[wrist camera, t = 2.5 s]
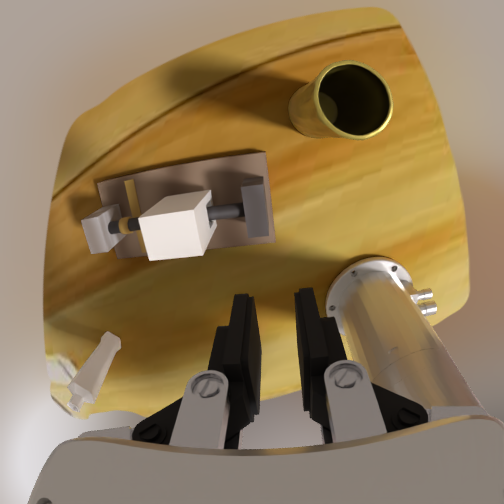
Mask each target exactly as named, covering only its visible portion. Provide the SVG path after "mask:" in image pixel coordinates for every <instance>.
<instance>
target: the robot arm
mask: <svg viewBox="0 0 504 504" xmlns="http://www.w3.org/2000/svg"><path fill="white" fill-rule="evenodd" d="M352 271H353V272H352ZM294 296H295V312H296V330H297V347H298V357H299V366H300V376H301V386H302V397H303V407H304V411H309V412H310V413H309V414H310V418H312V420H314V421H315V422H317V423H319V424H320V425H321V435H322V441H323V445H314V446H306V447H294V448H278V449H249V450H247V449H241V448H242V438H243V428H244V427H246V426H247V425H248V424H250V422H254V415H257V414H259V409H260V382H261V354H262V351H261V341H260V335H259V328H258V321H257V315H256V308H255V302H254V297H249V295H248V294H235V295H234V301H233V306H232V312H231V317H230V323H229V326H218V327H217V330H216V335H215V339H214V343H213V348H212V352H211V357H210V361H209V365H208V370H207V371H202V372H199V373H197V374H196V375H194V376H193V377H192V378H191V379H190V380H189V381H188V383H187V386H186V389H185V392H184V396H183V397H182V398H180V399H179V400H177V401H175V402H174V403H172V404H170V405H169V406H167V407H165V408H164V409H162V410H160V411H158V412H157V413H155V414H153V415H152V416H150V417H148V418H146V419H145V420H143V421H141V422H140V423H139V424H137V425H136V427H135V428H130V426H127V427H120V428H113V429H105V430H97V431H88V432H85V433H83V434H81V435H80V436H79V437H78V438H74V439H70V440H67V441H64V442H63V443H61V444H59V445H58V446H57V447H56V448H55V449H54V450H53V452H52V453H51V455H50V456H49V458H48V459H47V461H46V463H45V465H44V466H43V468H42V470H41V473H40V474H39V477H38V479H37V481H36V483H35V486H34V488H33V490H32V493H31V496H30V498H29V501H28V504H504V423H503V422H502V421H501V420H499V419H497V418H495V417H492V416H490V415H489V414H488V413H487V412H486V410H485V409H484V408H483V406H482V405H481V403H480V402H479V400H478V399H477V398H476V396H475V395H474V393H473V392H472V390H471V389H470V387H469V385H468V384H467V382H466V381H465V379H464V377H463V376H462V374H461V373H460V371H459V369H458V368H457V366H456V364H455V363H454V361H453V359H452V358H451V356H450V354H449V353H448V351H447V350H446V348H445V346H444V345H443V343H442V342H441V340H440V338H439V337H438V335H437V334H436V332H435V331H434V329H433V328H432V326H431V325H430V323H429V322H428V320H427V319H426V317H425V316H428V315H433V314H435V313H436V311H437V306H436V303H435V301H429V302H424V303H422V304H417V302H418V300H425V299H430V298H432V290H431V289H430V288H429V289H423V290H420V291H417V290H416V289H414V288H413V283H412V279H411V277H410V275H409V273H408V272H407V271H406V269H405V268H404V267H403V266H402V265H401V264H400V263H398V262H396V261H395V260H393V259H389V258H386V257H371V258H366V259H363V260H360V261H358V262H356V263H354V264H352V265H350V266H349V267H347V268H346V269H344V270H343V271H342V272H341V273H340V274H339V275H338V276H337V277H336V279H335V280H334V281H333V283H332V284H331V286H330V288H329V290H328V293H327V296H326V303H325V308H326V314H327V317H324V318H320V316H319V312H318V308H317V304H316V299H315V295H314V291H313V288H302V289H299V292H297V293H294ZM340 334H342V335H344V336H346V338H347V342H348V345H349V348H350V351H351V355H352V358H353V361H351V360H347V357H346V353H345V350H344V346H343V343H342V339H341V336H340Z"/></svg>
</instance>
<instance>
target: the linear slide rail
mask: <svg viewBox="0 0 504 504" xmlns="http://www.w3.org/2000/svg"><path fill="white" fill-rule="evenodd" d="M97 185H98V189H99V193H100V197H101V202H102V206H103V207H102V208H100V209H99V210H97V211H95V212H94V213H92V214H90V215H89V216H87V217H85V218H84V219H82V220H81V222H82V225H83V229H84V232H85V236H86V239H87V242H88V245H89V248H90V251H91V254H95V253H103V252H108V251H110V250H111V249H112V248H113V247H114V249H115V252H116V255H117V258H118V259H122V258H131V257H140V256H148V254H147V250H146V247H145V243H144V239H143V235H142V232H141V228H140V224H139V220H138V218H139V217H140V216H141V215H143V214H144V213H145V212H146V211H148V210H149V209H150V208H152V207H153V206H154V205H155V204H157V203H158V202H159V201H161V200H162V199H163V198H165V197H166V196H172V195H178V194H185V193H191V192H198V191H205V190H211V195H212V201H213V206H209V207H206V209H207V214H208V220H209V221H212V220H216V223H217V227H216V229H215V231H214V233H213V235H212V237H211V239H210V241H209V244H208V246H207V248H206V249H216V248H226V247H235V246H245V245H255V244H265V243H275V242H276V240H275V230H274V221H273V212H272V203H271V194H270V186H269V177H268V169H267V161H266V153H265V152H256V153H248V154H240V155H233V156H226V157H219V158H212V159H206V160H200V161H194V162H188V163H183V164H177V165H172V166H167V167H162V168H157V169H152V170H147V171H143V172H138V173H134V174H129V175H125V176H121V177H117V178H113V179H109V180H105V181H102V182H100V183H97Z"/></svg>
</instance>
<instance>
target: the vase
mask: <svg viewBox="0 0 504 504" xmlns="http://www.w3.org/2000/svg"><path fill="white" fill-rule="evenodd" d="M392 112H393V99H392V94H391V90H390V88H389V86H388V84H387V82H386V81H385V79H384V78H383V77H382V76H381V75H380V74H379V73H378V72H377V71H375V70H374V69H373V68H371V67H370V66H368V65H366V64H364V63H361V62H358V61H354V60H344V61H339V62H335V63H332V64H330V65H329V66H327V67H325V68H324V69H323V70H322V71H321V73H320V74H319V75H318V76H317V77H316V78H315V79H314V80H312V81H311V82H309V83H308V84H307V85H305V86H303V87H301V88H299V89H298V90H297V91H296V92H295V93H294V94H293V96H292V97H291V99H290V101H289V106H288V113H289V117H290V120H291V122H292V124H293V126H294V127H295V128H296V129H297V130H298V131H299V132H301V133H302V134H304V135H306V136H308V137H312V138H327V137H333V138H347V139H353V140H365V139H368V138H371V137H374V136H376V135H377V134H379V133H380V132H381V131H382V130H383V129H384V128H385V127H386V126H387V124H388V123H389V121H390V119H391V116H392Z"/></svg>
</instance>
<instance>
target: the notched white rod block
mask: <svg viewBox="0 0 504 504" xmlns="http://www.w3.org/2000/svg"><path fill="white" fill-rule="evenodd" d="M209 206H213V201H212V195H211V190H205V191H198V192H191V193H185V194H178V195H172V196H166V197H165V198H163V199H162V200H161V201H159V202H158V203H157V204H155V205H154V206H153V207H152V208H150V209H149V210H148V211H146V212H145V213H144V214H143V215H141V216H140V217H139V218H138V220H139V224H140V228H141V232H142V235H143V239H144V243H145V247H146V250H147V254H148V257H149V261H153V260H163V259H173V258H183V257H193V256H203V254H204V252H205V250H206V248H207V246H208V244H209V241H210V239H211V237H212V235H213V233H214V231H215V229H216V227H217V223H216V220H212V221H209V220H208V214H207V209H206V207H209Z"/></svg>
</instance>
